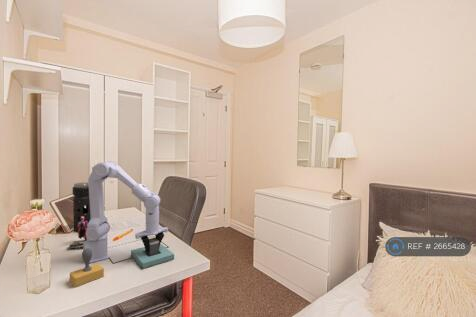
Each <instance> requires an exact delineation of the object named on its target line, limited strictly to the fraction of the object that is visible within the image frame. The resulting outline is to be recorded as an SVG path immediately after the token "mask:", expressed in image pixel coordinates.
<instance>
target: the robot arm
mask: <svg viewBox="0 0 476 317" xmlns="http://www.w3.org/2000/svg"><path fill="white" fill-rule="evenodd" d="M108 178H112V179H117V180H119V181H120V182H122V183H123V184H124V185H126V186H127V187H128V188H130V189H131V194H132V195H134V196H135V197H136V198H137V199H139V201H141V202H142V203H143V206H144V208H145V230H142V231H140V232H137V233H135V237H134V238H135V239H136V240H140V239H141V241H142V243H143V247H145V251H146V252H147V253H148V252H149V240H150V239H151V238H149V237H151V236H154V238H156V239H157V240H158V241H159V247H160V243H161V244H162V240H163V239H164V237H165V234H164V233H168V232H169V227H167V226H165V227H160V204H161V200H162V199H161V197H160V196H159V194H157V193H155V192H153V191H151V190H150V189H149V188H147V185H146V184H144V183H138V182H136V181H135V180H134V179H133V178H132V177H131V176H130V175H129V174H128V173H126V171H124V169H122V167H121V166H120V165H118V164H117V163H116V162H114V161H112V160H110V161H106V162H98V163H96V164H95V165H94V166H93V167H91V173H90V175H89V177H88V179H87V183H88V185H89V199H90V214H91V219H90V221H89V223H88V225H87V231H86V237H87V239H88V240H87V241H84V242H83V246H82V247H83V248H82V251H83V250H85V249H87V248H89V249H91V250H92V257H91V260H90V263H89V264H92V263H96V262H99V261H102V260H107V259H110V258H111V255H109V253H108V233H109V231H110V229H111V225H110V223H109V221H108V220H109V219H108V218H107V217H106V215H105V200H104V186H103V183H104V182H105V181H106V180H107V179H108Z"/></svg>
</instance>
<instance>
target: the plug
mask: <svg viewBox="0 0 476 317" xmlns="http://www.w3.org/2000/svg"><path fill="white" fill-rule="evenodd" d="M149 239H150V240H149V252H148V253H147V252H146V255H147V256H148V257H150V256H153V255H157V254H159V241H158V240H157V239H156V237H152V238H149Z"/></svg>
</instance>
